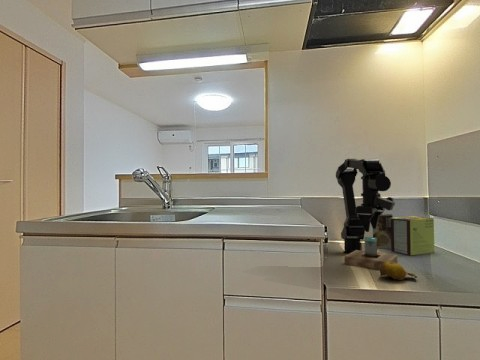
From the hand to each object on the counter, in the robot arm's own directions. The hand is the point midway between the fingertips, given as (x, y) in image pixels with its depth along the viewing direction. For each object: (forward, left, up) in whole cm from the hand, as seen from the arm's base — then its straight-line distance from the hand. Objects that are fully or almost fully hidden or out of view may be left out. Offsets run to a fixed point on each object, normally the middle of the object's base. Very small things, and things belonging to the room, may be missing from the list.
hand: (370, 230), depth 121 cm
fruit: (+12, -15, -14) cm, 24 cm away
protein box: (+9, +32, -13) cm, 36 cm away
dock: (0, 0, -13) cm, 13 cm away
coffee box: (-4, +34, -13) cm, 36 cm away
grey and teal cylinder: (0, 0, -13) cm, 13 cm away
